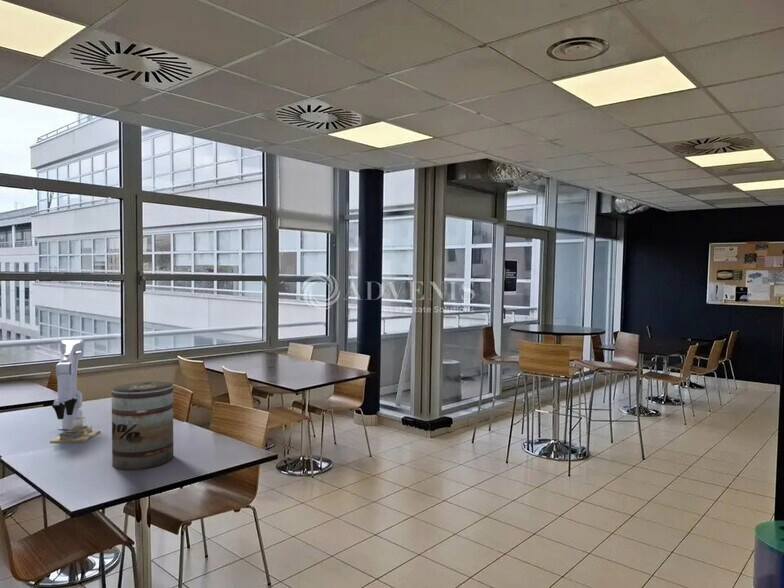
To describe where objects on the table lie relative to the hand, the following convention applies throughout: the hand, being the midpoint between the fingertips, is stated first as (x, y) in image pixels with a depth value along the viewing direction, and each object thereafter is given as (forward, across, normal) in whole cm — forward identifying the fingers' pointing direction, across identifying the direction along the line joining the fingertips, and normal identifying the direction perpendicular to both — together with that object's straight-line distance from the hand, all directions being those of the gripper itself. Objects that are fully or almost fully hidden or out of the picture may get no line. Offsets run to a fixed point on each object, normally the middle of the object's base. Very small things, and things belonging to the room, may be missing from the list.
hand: (65, 417), depth 252 cm
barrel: (+9, +37, +51) cm, 64 cm away
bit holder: (+9, +4, +7) cm, 12 cm away
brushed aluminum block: (+8, 0, +6) cm, 10 cm away
